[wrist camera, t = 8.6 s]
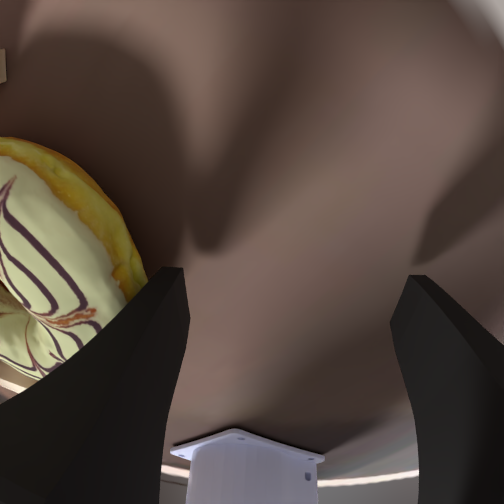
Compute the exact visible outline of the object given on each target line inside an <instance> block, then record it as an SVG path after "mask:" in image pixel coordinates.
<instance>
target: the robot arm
mask: <svg viewBox="0 0 504 504" xmlns="http://www.w3.org/2000/svg"><path fill="white" fill-rule="evenodd" d="M189 324H190V313H189V307H188V300H187V293H186V286H185V279H184V272H183V268H177V267H162V268H161V269H160V270H159V271H158V272H157V273H156V274H155V275H154V276H153V277H152V278H151V279H150V280H149V281H148V282H147V283H146V284H145V286H144V287H143V288H142V289H141V290H140V291H139V292H138V293H137V294H136V295H135V296H134V297H133V298H132V299H131V300H130V301H129V302H128V304H127V305H126V306H125V307H124V308H123V309H122V310H121V311H120V312H119V313H118V314H117V315H116V316H115V317H114V318H113V319H112V320H111V321H110V322H109V323H108V324H107V325H106V326H105V327H104V328H103V329H102V330H101V331H99V332H98V333H97V334H96V335H95V336H94V337H93V338H92V339H91V340H90V341H89V342H88V343H87V344H86V345H84V346H83V347H82V348H81V349H80V350H79V351H77V352H76V353H75V354H74V355H72V356H71V357H70V358H69V359H68V360H66V361H65V362H64V363H63V364H61V365H60V366H59V367H57V368H56V369H54V370H53V371H52V372H50V373H49V374H47V375H46V376H45V377H43V378H42V379H40V380H39V381H38V382H36V383H35V384H33V385H32V386H30V387H29V388H27V389H25V390H24V391H22V392H21V393H19V394H17V395H16V396H14V397H12V398H11V399H9V400H7V401H5V402H4V403H2V404H0V504H159V491H160V475H161V465H162V455H163V446H164V438H165V430H166V423H167V419H168V414H169V409H170V406H171V402H172V398H173V394H174V390H175V387H176V383H177V379H178V376H179V372H180V368H181V365H182V361H183V357H184V353H185V350H186V344H187V338H188V331H189ZM390 326H391V331H392V337H393V342H394V347H395V352H396V355H397V359H398V362H399V365H400V368H401V372H402V375H403V378H404V382H405V385H406V388H407V392H408V395H409V399H410V402H411V406H412V410H413V415H414V419H415V426H416V434H417V443H418V457H419V496H418V504H504V345H503V344H501V343H500V342H499V341H498V340H497V339H496V338H495V337H494V336H493V335H491V334H490V333H489V332H488V331H487V330H486V329H485V328H484V327H483V326H482V325H480V324H479V323H478V322H477V321H476V320H475V319H474V318H473V317H472V316H471V315H470V314H469V313H468V312H467V311H466V310H464V309H463V308H462V307H461V306H460V305H459V304H458V303H457V302H456V301H455V300H454V299H453V298H452V297H451V296H450V295H448V294H447V293H446V292H445V291H444V290H443V289H442V288H441V287H439V286H438V285H437V284H436V283H435V282H434V281H432V280H431V279H430V278H428V277H427V276H426V275H409V276H408V279H407V282H406V284H405V287H404V289H403V292H402V295H401V297H400V299H399V302H398V304H397V307H396V309H395V312H394V314H393V316H392V319H391V321H390ZM170 453H171V454H173V455H176V456H179V457H182V458H185V459H188V460H191V467H190V474H189V482H188V490H187V497H186V504H318V487H317V469H316V464H317V463H320V462H323V461H324V460H325V456H323V455H320V454H316V453H312V452H309V451H305V450H301V449H298V448H295V447H291V446H288V445H285V444H281V443H278V442H275V441H272V440H269V439H266V438H263V437H260V436H257V435H254V434H251V433H249V432H246V431H243V430H240V429H235V428H234V429H229V430H226V431H223V432H220V433H217V434H214V435H211V436H208V437H205V438H202V439H199V440H196V441H193V442H190V443H186V444H183V445H179V446H176V447H172V448H171V449H170Z"/></svg>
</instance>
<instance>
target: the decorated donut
mask: <svg viewBox="0 0 504 504" xmlns="http://www.w3.org/2000/svg"><path fill="white" fill-rule="evenodd" d="M147 282H148V279H147V277H146V274H145V271H144V269H143V264H142V260H141V257H140V255H139V253H138V251H137V249H136V247H135V244H134V243H133V239H132V238H131V235H130V233H129V231H128V229H127V227H126V225H125V222H124V220H123V217H122V214H121V212H120V211H119V209H118V208H117V206H116V205H115V204H114V203H113V202H112V201H111V200H110V199H109V198H108V197H107V196H106V194H105V193H104V192H103V191H102V189H101V188H100V186H98V185H97V183H96V182H95V181H94V180H93V179H92V178H91V177H90V176H89V175H88V174H87V173H86V172H85V171H84V170H83V169H82V168H81V167H80V166H79V165H77V164H76V163H75V162H73V161H72V160H70V159H69V158H67V157H66V156H64V155H62V154H60V153H58V152H56V151H54V150H52V149H49V148H46V147H44V146H42V145H39V144H36V143H33V142H31V141H27V140H24V139H19V138H14V137H0V360H1V361H3V362H5V363H7V364H8V365H10V366H11V367H13V368H14V369H16V370H17V371H18V372H20V373H21V374H23V375H25V376H27V377H29V378H32V379H34V380H37V381H39V380H40V379H42V378H43V377H45V376H46V375H47V374H49V373H50V372H52V371H53V370H54V369H56V368H57V367H59V366H60V365H61V364H63V363H64V362H65V361H66V360H68V359H69V358H70V357H71V356H72V355H74V354H75V353H76V352H77V351H79V350H80V349H81V348H82V347H83V346H84V345H86V344H87V343H88V342H89V341H90V340H91V339H92V338H93V337H94V336H95V335H96V334H97V333H98V332H99V331H101V330H102V329H103V328H104V327H105V326H106V325H107V324H108V323H109V322H110V321H111V320H112V319H113V318H114V317H115V316H116V315H117V314H118V313H119V312H120V311H121V310H122V309H123V308H124V307H125V306H126V305H127V304H128V302H129V301H130V300H131V299H132V298H133V297H134V296H135V295H136V294H137V293H138V292H139V291H140V290H141V289H142V288H143V287H144V286H145V284H146V283H147Z"/></svg>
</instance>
